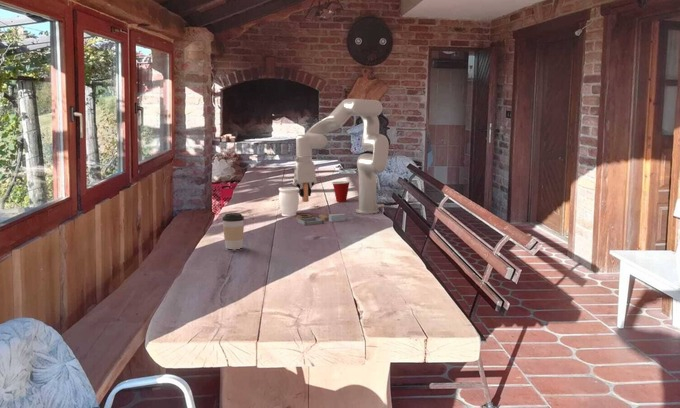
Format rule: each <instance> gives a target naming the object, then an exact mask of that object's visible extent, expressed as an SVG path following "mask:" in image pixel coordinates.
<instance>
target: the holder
mask: <svg viewBox="0 0 680 408" xmlns="http://www.w3.org/2000/svg"><path fill="white" fill-rule="evenodd" d="M303 218H313V215H312V214H309V213H305V214H304V213H303V214H297V215H296V218H295V220H296V221H297V219H303Z"/></svg>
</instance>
